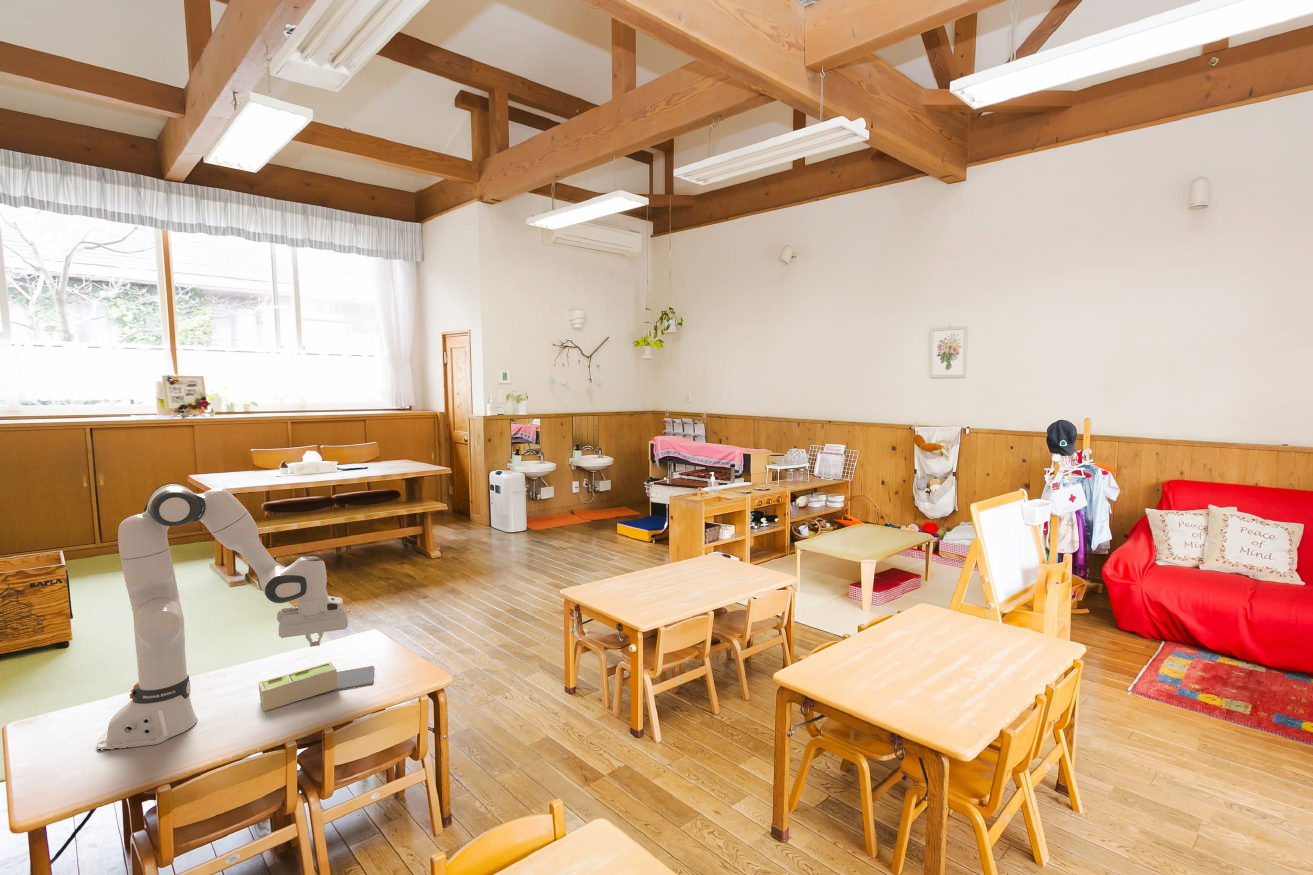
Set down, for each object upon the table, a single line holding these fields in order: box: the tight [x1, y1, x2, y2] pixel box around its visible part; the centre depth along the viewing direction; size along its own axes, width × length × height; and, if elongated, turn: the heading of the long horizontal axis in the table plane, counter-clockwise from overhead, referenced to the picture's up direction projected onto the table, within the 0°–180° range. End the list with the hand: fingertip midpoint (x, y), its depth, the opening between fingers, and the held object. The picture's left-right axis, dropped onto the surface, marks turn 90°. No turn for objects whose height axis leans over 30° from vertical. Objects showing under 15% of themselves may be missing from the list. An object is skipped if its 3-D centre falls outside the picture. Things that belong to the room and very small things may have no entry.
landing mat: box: [323, 665, 375, 694], centre depth 215 cm, size 17×14×1 cm
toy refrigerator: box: [258, 661, 338, 712], centre depth 203 cm, size 8×7×21 cm
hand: (315, 645), depth 209 cm, fingers closed
